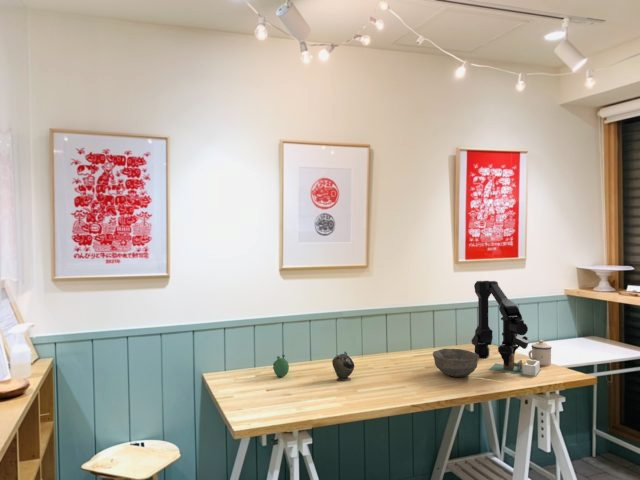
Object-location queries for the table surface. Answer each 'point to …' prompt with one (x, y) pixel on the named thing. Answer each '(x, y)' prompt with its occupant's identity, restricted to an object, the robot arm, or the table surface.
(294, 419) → the table surface
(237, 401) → the table surface
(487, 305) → the robot arm
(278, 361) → the alien toy
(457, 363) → the bowl
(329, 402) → the table surface
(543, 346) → the teacup with lid
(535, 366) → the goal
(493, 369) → the pitch
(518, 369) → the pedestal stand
